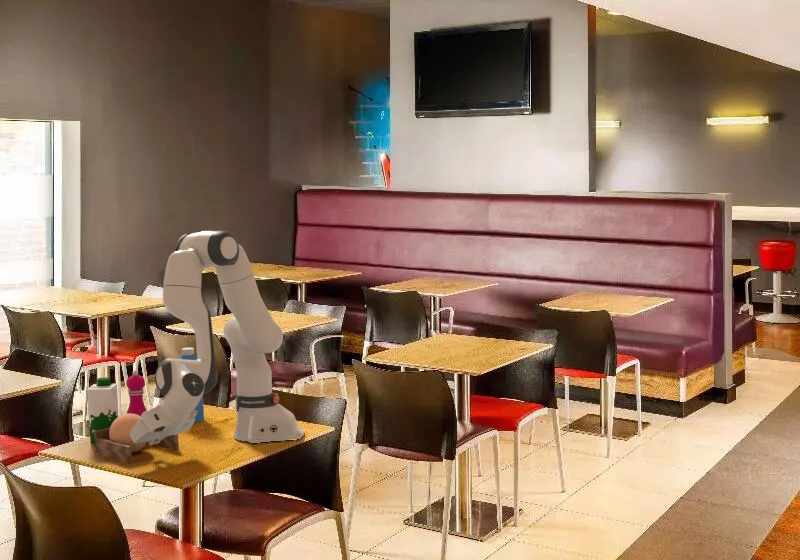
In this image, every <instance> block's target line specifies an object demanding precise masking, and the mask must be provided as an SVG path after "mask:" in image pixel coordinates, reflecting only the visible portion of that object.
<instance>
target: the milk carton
mask: <svg viewBox="0 0 800 560" xmlns="http://www.w3.org/2000/svg"><path fill="white" fill-rule="evenodd" d="M86 394H87V409H88V411H87V413H88V430H89V439H90V445H92V444H95V442H94V431H98V430H102V429H107V428H110V427H111V425H112V423H113V422H114V420H115V419H117V418H118V417H119V398H118V394H119V393H118V383H111V378H110V377H98V378H97V379H96V383H94V384H92V385H91V386H89V387H88V388H87V389H86Z"/></svg>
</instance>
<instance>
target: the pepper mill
mask: <svg viewBox="0 0 800 560" xmlns="http://www.w3.org/2000/svg"><path fill="white" fill-rule="evenodd" d="M125 385H126V387H127V389H128V390H127V392H128V396H129V404H128V405H129V406H128V407H127V411H126V413H125V414H130V413H131V414H136V415H139V416H141V415H142V413H143V412H145V411H147V410H148V409H147V408H146V405H145V402H144V398H143V397H144V394H145V392H144V391H145V390H144V387H145V385H146V380H145V378H144V377H143V376H141V375H139V371H137V370H133V371H132V375H130V376H129V377H128V378H127V379H126V383H125Z"/></svg>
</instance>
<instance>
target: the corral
mask: <svg viewBox="0 0 800 560" xmlns="http://www.w3.org/2000/svg"><path fill="white" fill-rule="evenodd" d="M109 430H110V428H107V429H102V430H98V431H94V442H95V445H94V453H97V454H99V455H98V456H101V455H102V456H101V457H104V456H105V458H107V457H108V458H107V459H112V460H115V461H118V462H121V463H125V464H132V461H133V460H132V453H131V446H128V445H124V444H121V443H117V442H114V441H110V438H109ZM146 444H147V445H148V444H149V443H148V441H147V443H146ZM179 444H180V443H179V434H175V435H171V436H167V437H165V438H164V439H162V440H161V441H160V442H159V443H157V444H153V445H152V446H156V447H159V448H163V449H167V450H170V451H175V452H177V451H179V449H180V447H179V446H180V445H179ZM149 445H150V444H149ZM97 454H96V455H97Z"/></svg>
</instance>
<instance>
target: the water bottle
mask: <svg viewBox="0 0 800 560" xmlns="http://www.w3.org/2000/svg"><path fill="white" fill-rule="evenodd" d="M178 359H185V360H197V355H196V354H195V348H194V347H183V348H181V355H180V356H179V357H178ZM195 410H197V412H198V413H197V415H196V416H195V417H194V418H195V421H194V423H193V424H196V423H200V422H203V421H205V414H204V413H205V412H204V394H203V395H202V398H201V400H200V401H199V403H198V405H197V406H196V408H195Z"/></svg>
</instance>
